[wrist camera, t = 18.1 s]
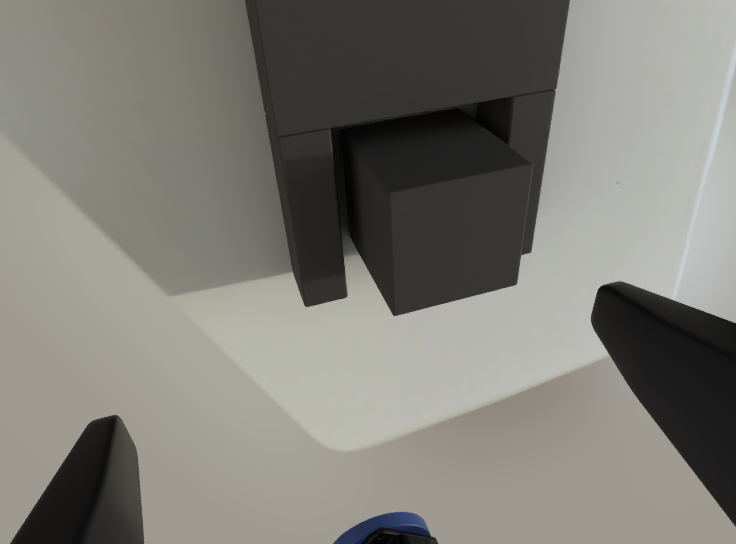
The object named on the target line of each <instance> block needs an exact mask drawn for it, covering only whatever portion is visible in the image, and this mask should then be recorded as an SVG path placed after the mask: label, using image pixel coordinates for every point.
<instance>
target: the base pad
mask: <svg viewBox="0 0 736 544" xmlns="http://www.w3.org/2000/svg"><path fill="white" fill-rule="evenodd" d="M245 2H246V7H247V13H248V19H249V24H250V30H251V36H252V41H253V47H254V53H255V59H256V64H257V70H258V76H259V81H260V87H261V93H262V99H263V104H264V110H265V113H266V121H267V127H268V132H269V138H270V144H271V149H272V155H273V161H274V167H275V172H276V178H277V184H278V189H279V195H280V201H281V207H282V212H283V218H284V224H285V229H286V235H287V241H288V247H289V252H290V258H291V264H292V269H293V274H294V277H295V280H296V282H297V285H298V288H299V291H300V294H301V297H302V300H303V302H304V305H305V307H310V306H314V305H318V304H322V303H326V302H330V301H334V300H338V299H342V298H346V297H347V286H346V276H345V266H344V256H343V247H342V237H341V227H340V218H339V208H338V198H337V188H336V179H335V169H334V159H333V149H332V140H331V130H330V129H329V128H333V127H339V126H345V125H350V124H356V123H362V122H368V121H374V120H379V119H385V118H391V117H397V116H403V115H408V114H414V113H420V112H426V111H432V110H437V109H443V108H449V107H455V106H461V105H467V104H472V103H478V115H477V123H478V124H479V125H481V126H482V127H483V128H485V129H486V130H487V131H489V132H490V133H492V134H493V135H494V136H496V137H497V138H498V139H500V140H501V141H503V142H504V143H505V144H507V145H508V146H509V147H511V148H512V149H514V150H515V151H516V152H518V153H519V154H521V155H522V156H523V157H525V158H526V159H527V160H529V161H530V162H532V163H533V172H532V179H531V186H530V193H529V201H528V208H527V215H526V222H525V230H524V237H523V244H522V251H521V255H523V254H527V253H530V252H531V250H532V244H533V237H534V230H535V224H536V217H537V211H538V204H539V197H540V191H541V184H542V178H543V171H544V165H545V158H546V151H547V145H548V138H549V132H550V125H551V119H552V112H553V105H554V99H555V90H554V89H556V88H557V81H558V75H559V68H560V61H561V55H562V48H563V42H564V35H565V29H566V22H567V15H568V9H569V2H570V0H245Z"/></svg>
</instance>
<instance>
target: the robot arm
mask: <svg viewBox="0 0 736 544" xmlns="http://www.w3.org/2000/svg"><path fill="white" fill-rule="evenodd" d="M591 323H592V326H593V328H594V330H595V332H596V334H597V335H598V337H599V338H600V340H601V342H602V343H603V345H604V347H605V348H606V350H607V351H608V353H609V355H610V356H611V358H612V360H613V361H614V363H615V364H616V366H617V368H618V369H619V371H620V373H621V374H622V376H623V377H624V379H625V381H626V382H627V384H628V385H629V387H630V388H631V390H632V391H633V393H634V394H635V395H636V397H637V398H638V400H639V401H640V402H641V403H642V405H643V406H644V407H645V409H646V410H647V411H648V413H649V414H650V415H651V417H652V418H653V419H654V420H655V422H656V423H657V424H658V426H659V427H660V428H661V430H662V431H663V432H664V433H665V435H666V436H667V438H668V439H669V440H670V441H671V443H672V444H673V445H674V447H675V448H676V449H677V451H678V452H679V453H680V455H681V456H682V457H683V458H684V460H685V461H686V462H687V464H688V465H689V466H690V468H691V469H692V470H693V472H694V473H695V474H696V475H697V477H698V478H699V479H700V481H701V482H702V483H703V485H704V486H705V487H706V488H707V490H708V491H709V492H710V494H711V495H712V496H713V498H714V499H715V500H716V501H717V503H718V504H719V506H720V507H721V508H722V509H723V511H724V512H725V513H726V515H727V516H728V517H729V519H730V520H731V521H732V523H733V524H734V525H735V526H736V323H733V322H731V321H728V320H725V319H723V318H719V317H717V316H714V315H712V314H709V313H706V312H704V311H701V310H698V309H695V308H693V307H690V306H687V305H684V304H682V303H679V302H676V301H674V300H671V299H668V298H666V297H663V296H660V295H657V294H655V293H652V292H649V291H646V290H644V289H641V288H638V287H636V286H633V285H630V284H627V283H625V282H620V281H619V282H613V283H610V284H606V285H603V286H601V287H600V288H599V289H598V292H597V295H596V299H595V303H594V307H593V310H592V314H591ZM143 534H144V533H143V519H142V506H141V493H140V480H139V466H138V456H137V451H136V447H135V445H134V442H133V441H132V439H131V437H130V435H129V433H128V431H127V429H126V427H125V425H124V423H123V421H122V419H121V418H120V417H119V416H117V415H112V416H108V417H104V418H101V419H97V420H93V421H92V422H90V423H89V424H88V425H87V427H86V428H85V430H84V432H83V433H82V434H81V436H80V438H79V439H78V441H77V442H76V444H75V445H74V447H73V448H72V450H71V451H70V453H69V455H68V456H67V457H66V459H65V461H64V462H63V463H62V465H61V467H60V468H59V470H58V472H57V473H56V474H55V476H54V477H53V479H52V481H51V482H50V483H49V485H48V486H47V488H46V490H45V491H44V493H43V494H42V496H41V497H40V499H39V500H38V502H37V503H36V505H35V506H34V508H33V509H32V511H31V512H30V514H29V515H28V517H27V518H26V520H25V522H24V523H23V525H22V526H21V528H20V529H19V531H18V532H17V534H16V535H15V537H14V538H13V540H12V542H11V543H10V544H144V535H143ZM361 544H438V542H437V540H436V538H435V537H431V536H426V535H421V534H416V533H410V532H405V531H400V530H395V529H390V528H385V527H381V528H378V529H376V530H375V531H374V532H373V533H372V534H371V535H369V536H368V537H367V538H366V539H365V540H364V541H363V542H362V543H361Z"/></svg>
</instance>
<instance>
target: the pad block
mask: <svg viewBox="0 0 736 544" xmlns="http://www.w3.org/2000/svg"><path fill="white" fill-rule="evenodd" d="M340 135H341V146H342V157H343V167H344V178H345V189H346V200H347V211H348V222H349V233H350V238H351V240H352V241H353V243H354V245H355V247H356V249H357V250H358V252H359V254H360V256H361V258H362V260H363V261H364V263H365V265H366V267H367V269H368V270H369V272H370V274H371V276H372V278H373V280H374V281H375V283H376V285H377V287H378V289H379V290H380V292H381V294H382V296H383V298H384V299H385V301H386V303H387V305H388V307H389V309H390V310H391V312H392V314H393V315H394V316H397V315H401V314H405V313H409V312H413V311H416V310H420V309H424V308H428V307H432V306H436V305H440V304H444V303H448V302H451V301H455V300H459V299H463V298H467V297H471V296H475V295H479V294H483V293H486V292H490V291H494V290H498V289H502V288H506V287H510V286H514V285H516V284H517V280H518V273H519V266H520V259H521V251H522V244H523V237H524V230H525V222H526V215H527V208H528V201H529V193H530V186H531V179H532V172H533V163H532V162H530V161H529V160H527V159H526V158H525V157H523V156H522V155H521V154H519V153H518V152H516V151H515V150H514V149H512V148H511V147H509V146H508V145H507V144H505V143H504V142H503V141H501V140H500V139H498V138H497V137H496V136H494V135H493V134H492V133H490V132H489V131H487V130H486V129H485V128H483V127H482V126H481V125H479V124H478V123H476V122H475V121H474V120H472V119H471V118H469V117H468V116H467V115H465V114H464V113H463V112H461V111H460V110H458V109H453V110H448V111H442V112H436V113H430V114H425V115H419V116H413V117H407V118H402V119H396V120H390V121H384V122H379V123H373V124H367V125H361V126H356V127H350V128H344V129H341V130H340Z"/></svg>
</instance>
